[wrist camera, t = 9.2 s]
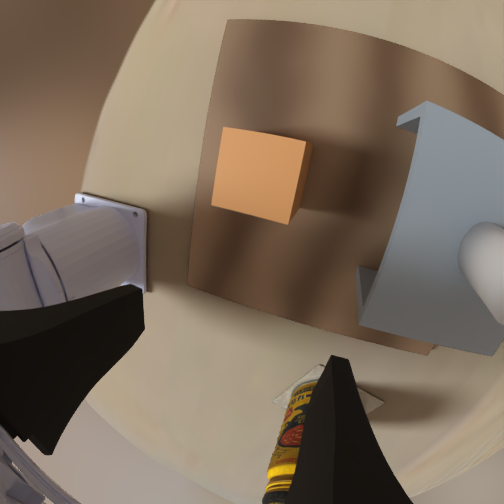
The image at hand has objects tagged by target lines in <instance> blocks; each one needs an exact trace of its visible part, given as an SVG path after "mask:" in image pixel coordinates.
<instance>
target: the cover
mask: <svg viewBox="0 0 504 504" xmlns="http://www.w3.org/2000/svg"><path fill="white" fill-rule="evenodd" d="M396 127H399V128H402V129H405V130H408V131H410V132H413V133H416V134H417V139H416V144H415V149H414V153H413V158H412V162H411V167H410V171H409V175H408V179H407V183H406V186H405V190H404V194H403V197H402V201H401V204H400V208H399V211H398V214H397V218H396V221H395V224H394V227H393V230H392V233H391V236H390V239H389V242H388V245H387V248H386V251H385V254H384V256H383V259H382V262H381V264H380V267H379V270H378V271H375V270H372V269H369V268H365V267H362V266H359V265H358V268H357V270H356V273H355V276H356V288H357V302H358V320H359V325H361V326H364V327H368V328H372V329H376V330H380V331H383V332H387V333H391V334H395V335H399V336H403V337H407V338H411V339H415V340H419V341H424V342H428V343H432V344H436V345H441V346H445V347H450V348H454V349H459V350H463V351H468V352H473V353H478V354H483V355H488V356H493V355H494V353H495V352H496V350H497V349H498V347H499V346H500V344H501V343H502V341H503V340H504V140H503V139H501V138H500V137H498V136H496V135H495V134H493V133H491V132H490V131H488V130H486V129H485V128H483V127H481V126H479V125H477V124H475V123H474V122H472V121H470V120H468V119H466V118H464V117H462V116H460V115H458V114H456V113H454V112H452V111H450V110H447V109H445V108H443V107H441V106H438V105H436V104H434V103H431V102H429V101H425V102H424V103H422V104H420V105H418V106H416V107H415V108H413V109H411V110H409V111H408V112H406V113H404V114H402V115H401V116H399V117H398V120H397V125H396Z"/></svg>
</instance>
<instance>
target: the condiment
mask: <svg viewBox="0 0 504 504" xmlns="http://www.w3.org/2000/svg"><path fill="white" fill-rule="evenodd" d="M324 368H325V367H323V366H321V365H318V366H316V367H315V368H314V369H313V370H311V371H310V372H309V373H308V374H306V375H305V376H304V377H302V378H301V379H300V380H299V381H297V382H296V383H295V384H294V385H292V386H291V387H290V388H289V389H287V390H286V391H285V392H284V393H282V394H281V395H280V396H279V397H277V398H276V399H275V400H273V401H272V402H273V403H275V404H277V405H279V406H281V407H283V408H285V409H287V411H286V413H285V418H284V421H283V424H282V426H281V431H280V434H279V437H278V438H277V444H276V447H275V451H274V452H273V454H272V457H271V462H270V464H269V467H268V471H267V475H268V479H269V481H270V482H269V483H268V484H267V486H266V492H265V495H264V497H263V499H262V503H263V504H284V501H285V499H286V496H287V493H288V490H289V488H290V485H291V482H292V479H293V476H294V472H295V468H296V463H297V458H298V453H299V448H300V443H301V437H302V432H303V426H304V420H305V415H306V412H307V408H308V404H309V401H310V397H311V394H312V391H313V389H314V387H315V385H316V384H317V382H318V380H319V378H320V376H321V374H322V372H323V370H324ZM357 389H358V392H359V395H360V398H361V401H362V404H363V407H364V409H365V412H366V415H367V414H368V413H370V412H371V411H373V410H374V409H376V408H378V407H380V406H381V405H383V404H384V403H385V402H383V401H381V400H379V399H377V398H376V397H374V396H371V395H370V394H368V393H367V392H364V391H363V390H361V389H359V388H358V387H357Z"/></svg>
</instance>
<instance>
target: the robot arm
mask: <svg viewBox="0 0 504 504" xmlns="http://www.w3.org/2000/svg"><path fill="white" fill-rule="evenodd" d="M136 212H137V215H138V216H137V215H136ZM146 232H147V213H146V211H145V210H144V209H141V208H137V207H133V206H130V205H126V204H122V203H118V202H114V201H110V200H107V199H103V198H99V197H95V196H91V195H87V194H83V193H77V194H76V195H75V203H74V204H71V205H68V206H65V207H62V208H59V209H56V210H53V211H50V212H48V213H45V214H42V215H39V216H36V217H34V218H32V219H30V220H28V221H27V222H26V223H25V224H24V225H23V226H19V225H18V224H17V223H15V222H9V223H5V224H2V225H0V504H46V503H45V502H44V500H45V496H46V497H47V498H49V499H50V500H51V501H52V502H53V503H54V504H81V503H79V502H78V501H77V500H75V499H74V498H73V497H71V496H70V495H69V494H68V493H67V492H66V491H64V490H63V489H62V488H61V487H60V486H59V485H57V484H56V483H55V482H54V481H53V480H52V479H51V478H50V477H49V476H47V475H46V474H45V473H44V472H43V471H42V470H41V469H40V468H39V467H38V466H37V465H36V464H35V463H34V462H33V461H32V460H31V459H30V458H29V457H28V456H27V454H25V452H24V451H23V450H22V449H21V448H20V447H19V445H18V444H17V443H16V442H15V441H14V440H13V439H14V438H15V437H16V436H18V437H19V438H20V439H21V440H22V441H23V442H25V441H26V440H27V439H29V440H30V441H31V442H32V443H33V444H34V445H35V446H36V447H37V448H38V449H39V450H40V451H41V452H42V453H43V454H44V455H52V454H53V451H54V449H55V446H56V445H57V442H58V440H59V439H60V436H61V434H62V433H63V431H64V429H65V427H66V426H67V424H68V422H69V421H70V419H71V417H72V416H73V414H74V413H75V411H76V410H77V408H78V407H79V405H80V404H81V402H82V401H83V400H84V398H85V397H86V396H87V394H88V393H89V392H90V390H91V389H92V388H93V387H94V386H95V384H96V383H97V382H98V381H99V380H100V379H101V378H102V377H103V376H104V375H105V374H106V373H107V372H108V371H109V370H110V369H111V368H112V367H113V366H114V365H115V364H116V363H117V362H118V361H119V360H120V359H121V358H122V357H123V356H124V355H125V354H126V353H127V352H128V351H129V349H130V348H131V347H132V346H133V345H134V343H135V342H136V341H137V339H138V338H139V337H140V335H141V334H142V332H143V331H144V330H145V325H144V310H143V294H144V293H145V292H146ZM120 285H122V286H120ZM118 286H119V287H118ZM12 461H13V463H14V464H15V465H16V466H17V467H18V468H19V469H20V471H21V472H22V473H23V474H24V475H23V474H22V473H21V472H20V471H19V470H18V469H16V468H15V467H14V466H13V465H12ZM42 493H43V494H44V495H45V496H44V495H43V494H42ZM284 504H413V503H412V501H411V500H410V499H409V497H408V496H407V494H406V493H405V491H404V490H403V488H402V486H401V485H400V483H399V482H398V480H397V479H396V477H395V476H394V474H393V472H392V470H391V468H390V467H389V465H388V463H387V461H386V459H385V457H384V455H383V453H382V451H381V449H380V447H379V445H378V442H377V440H376V438H375V435H374V433H373V430H372V428H371V426H370V423H369V420H368V418H367V415H366V412H365V409H364V407H363V404H362V401H361V398H360V395H359V392H358V389H357V385H356V382H355V379H354V376H353V372H352V369H351V365H350V362H349V360H348V359H345V358H341V357H337V356H333V355H331V357H330V359H329V361H328V363H327V364H326V366H325V368H324V370H323V372H322V374H321V376H320V378H319V380H318V382H317V384H316V385H315V387H314V389H313V391H312V394H311V397H310V401H309V404H308V408H307V412H306V415H305V420H304V426H303V432H302V437H301V443H300V448H299V453H298V458H297V463H296V468H295V472H294V476H293V479H292V482H291V485H290V488H289V490H288V493H287V496H286V499H285V501H284Z"/></svg>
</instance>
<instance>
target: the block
mask: <svg viewBox="0 0 504 504" xmlns="http://www.w3.org/2000/svg"><path fill="white" fill-rule="evenodd" d="M313 145H314V144H312V143H309V142H306V141H301V140H297V139H292V138H287V137H282V136H277V135H272V134H266V133H261V132H255V131H249V130H242V129H235V128H228V127H223V131H222V137H221V143H220V149H219V155H218V162H217V168H216V175H215V182H214V189H213V196H212V203H211V205H213V206H217V207H221V208H225V209H229V210H233V211H237V212H241V213H245V214H249V215H253V216H257V217H260V218H264V219H268V220H272V221H276V222H279V223H283V224H287V225H288V224H289V223H290V221H291V220H292V218H293V217H294V216H295V214H296V213H297V211H298V210H299V208H300V204H301V200H302V196H303V191H304V187H305V182H306V178H307V173H308V169H309V164H310V159H311V155H312V150H313Z"/></svg>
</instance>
